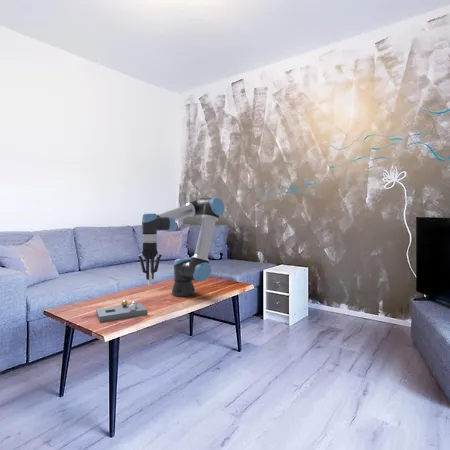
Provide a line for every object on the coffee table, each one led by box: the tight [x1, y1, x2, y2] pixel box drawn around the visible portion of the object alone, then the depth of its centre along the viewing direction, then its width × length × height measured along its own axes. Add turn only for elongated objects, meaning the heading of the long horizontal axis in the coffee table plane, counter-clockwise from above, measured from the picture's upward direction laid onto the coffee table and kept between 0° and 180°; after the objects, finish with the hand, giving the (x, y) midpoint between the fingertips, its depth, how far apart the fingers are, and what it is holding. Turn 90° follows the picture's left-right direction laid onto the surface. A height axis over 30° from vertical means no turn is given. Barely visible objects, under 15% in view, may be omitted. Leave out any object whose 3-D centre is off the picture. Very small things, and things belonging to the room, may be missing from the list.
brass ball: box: [121, 299, 129, 306], centre depth 171 cm, size 3×3×3 cm
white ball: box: [129, 303, 136, 311], centre depth 163 cm, size 3×3×3 cm
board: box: [95, 302, 148, 323], centre depth 165 cm, size 23×14×2 cm, turn 118°
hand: (150, 285), depth 172 cm, fingers closed
